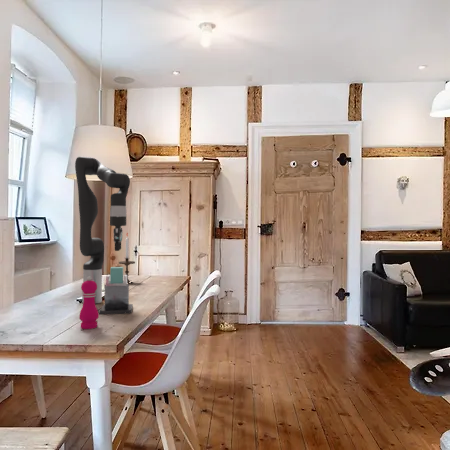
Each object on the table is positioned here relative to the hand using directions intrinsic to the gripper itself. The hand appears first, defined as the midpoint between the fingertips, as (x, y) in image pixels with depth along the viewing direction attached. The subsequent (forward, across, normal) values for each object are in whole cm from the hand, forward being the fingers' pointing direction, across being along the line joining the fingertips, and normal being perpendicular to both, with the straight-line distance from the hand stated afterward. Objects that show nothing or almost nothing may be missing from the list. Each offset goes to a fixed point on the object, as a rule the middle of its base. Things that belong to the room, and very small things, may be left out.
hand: (117, 250), depth 195 cm
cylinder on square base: (+28, 0, 0) cm, 28 cm away
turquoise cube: (+15, 0, 0) cm, 15 cm away
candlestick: (+29, -90, -2) cm, 95 cm away
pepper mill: (+28, +30, -8) cm, 43 cm away
